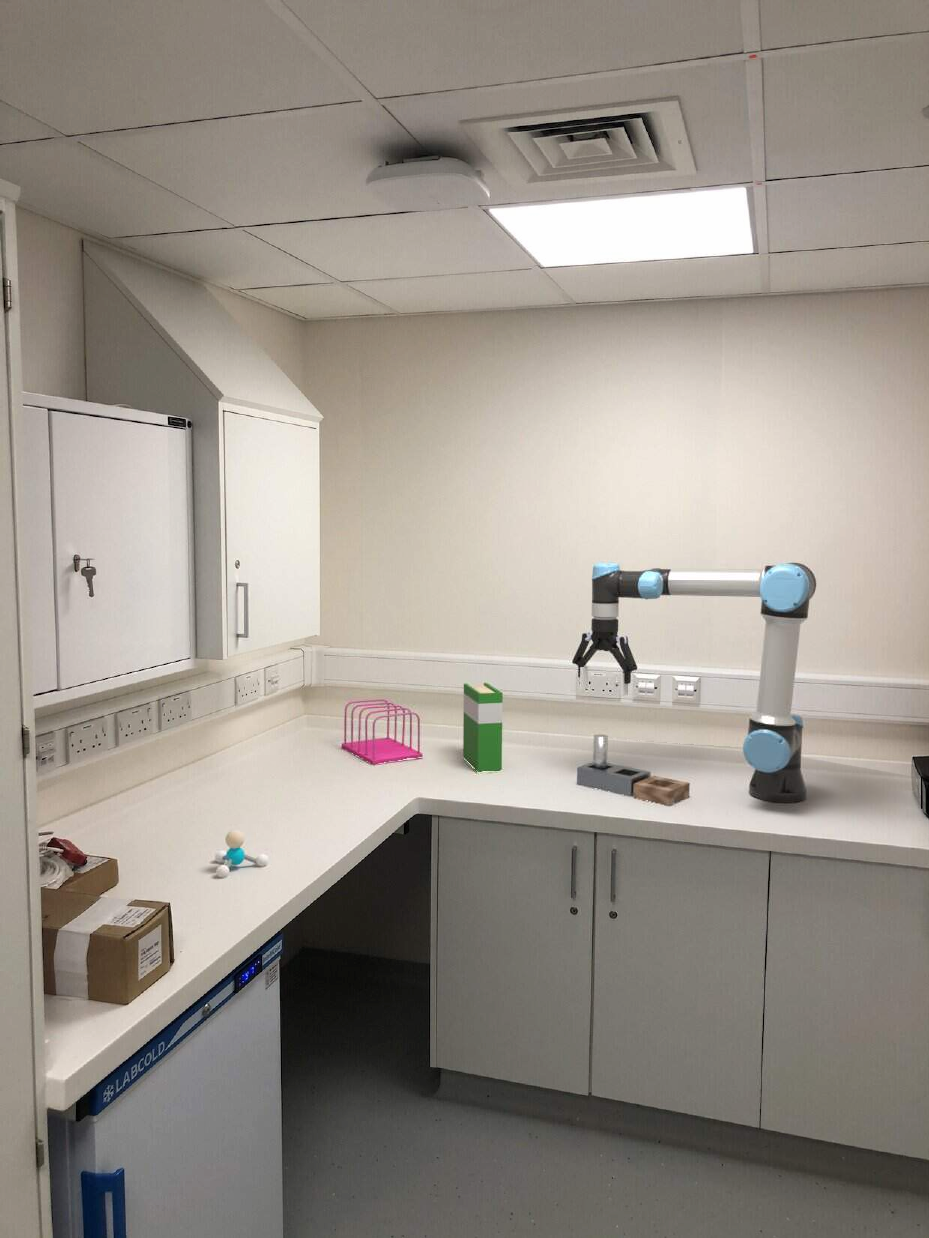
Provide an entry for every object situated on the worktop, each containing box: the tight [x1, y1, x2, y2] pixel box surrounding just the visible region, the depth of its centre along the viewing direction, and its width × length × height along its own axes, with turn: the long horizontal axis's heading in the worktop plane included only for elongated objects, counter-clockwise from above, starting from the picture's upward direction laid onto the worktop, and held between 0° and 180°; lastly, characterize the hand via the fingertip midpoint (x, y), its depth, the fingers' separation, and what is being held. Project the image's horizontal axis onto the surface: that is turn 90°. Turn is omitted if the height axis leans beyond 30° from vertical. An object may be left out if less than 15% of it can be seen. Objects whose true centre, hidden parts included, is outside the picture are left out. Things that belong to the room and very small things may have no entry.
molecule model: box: [214, 829, 269, 879], centre depth 212 cm, size 12×12×9 cm
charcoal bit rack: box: [576, 761, 651, 798], centre depth 276 cm, size 18×10×5 cm, turn 49°
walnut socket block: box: [632, 775, 691, 807], centre depth 266 cm, size 11×11×4 cm
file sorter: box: [341, 699, 423, 765], centre depth 312 cm, size 17×25×16 cm
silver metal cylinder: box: [592, 734, 609, 770], centre depth 279 cm, size 4×4×14 cm
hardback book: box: [462, 682, 504, 772], centre depth 298 cm, size 18×7×24 cm, turn 14°
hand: (603, 692), depth 277 cm, fingers open, 13 cm apart
